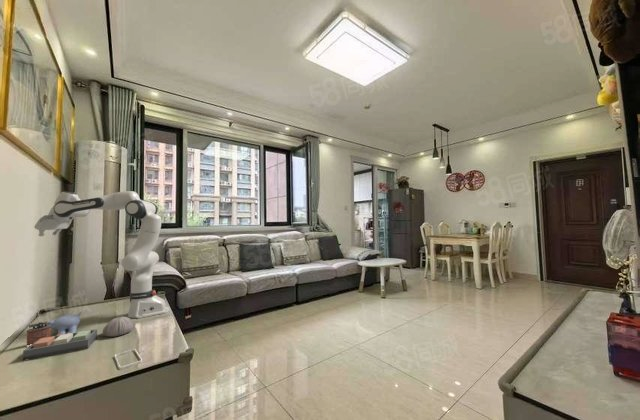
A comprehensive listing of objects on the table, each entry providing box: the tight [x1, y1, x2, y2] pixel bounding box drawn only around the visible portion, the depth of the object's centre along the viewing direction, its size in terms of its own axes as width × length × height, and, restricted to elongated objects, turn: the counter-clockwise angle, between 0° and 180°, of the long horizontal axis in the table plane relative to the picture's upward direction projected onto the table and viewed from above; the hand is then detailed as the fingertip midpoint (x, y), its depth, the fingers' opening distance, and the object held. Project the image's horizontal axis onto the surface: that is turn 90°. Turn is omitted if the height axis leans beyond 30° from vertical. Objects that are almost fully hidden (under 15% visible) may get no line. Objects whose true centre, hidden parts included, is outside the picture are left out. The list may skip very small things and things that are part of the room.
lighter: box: [26, 321, 52, 345], centre depth 127 cm, size 8×3×10 cm, turn 141°
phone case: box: [114, 348, 143, 370], centre depth 108 cm, size 7×1×15 cm
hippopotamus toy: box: [44, 310, 83, 336], centre depth 140 cm, size 11×15×10 cm
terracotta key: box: [33, 335, 56, 348], centre depth 118 cm, size 4×7×2 cm, turn 27°
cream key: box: [54, 333, 73, 345], centre depth 121 cm, size 4×7×2 cm, turn 27°
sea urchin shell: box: [102, 316, 136, 338], centre depth 137 cm, size 13×14×8 cm
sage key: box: [73, 329, 92, 341], centre depth 124 cm, size 4×7×2 cm, turn 27°
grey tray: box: [22, 328, 98, 361], centre depth 121 cm, size 21×14×4 cm, turn 117°
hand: (47, 235), depth 165 cm, fingers open, 8 cm apart
